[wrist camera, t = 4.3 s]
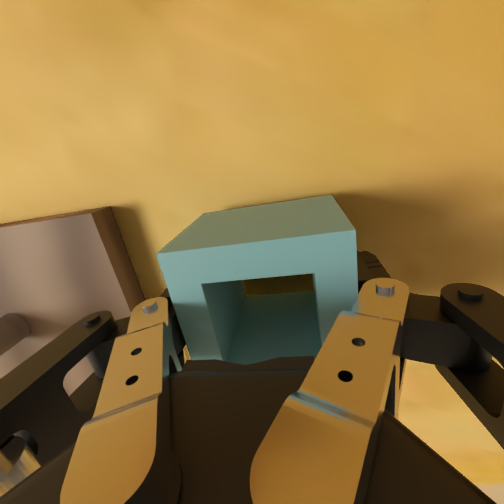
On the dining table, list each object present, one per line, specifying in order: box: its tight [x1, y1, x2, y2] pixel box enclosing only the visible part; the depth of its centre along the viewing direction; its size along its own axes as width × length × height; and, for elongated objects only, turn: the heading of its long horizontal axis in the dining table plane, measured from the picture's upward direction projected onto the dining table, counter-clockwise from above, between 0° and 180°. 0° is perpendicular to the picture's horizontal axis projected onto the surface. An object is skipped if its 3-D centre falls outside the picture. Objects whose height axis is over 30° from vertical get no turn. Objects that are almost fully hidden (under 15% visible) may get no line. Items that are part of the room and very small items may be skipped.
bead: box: [156, 195, 358, 365], centre depth 11 cm, size 6×6×5 cm
